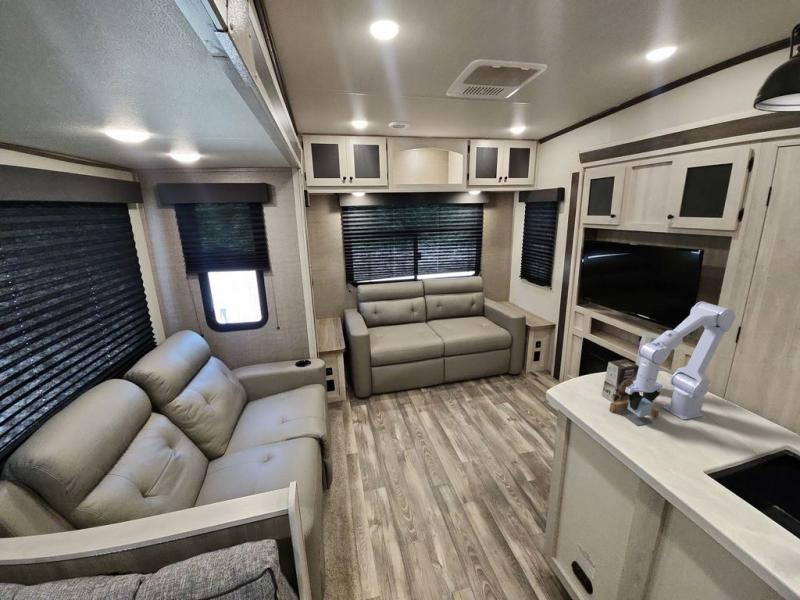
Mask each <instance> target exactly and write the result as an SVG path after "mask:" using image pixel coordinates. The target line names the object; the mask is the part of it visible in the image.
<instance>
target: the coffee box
mask: <svg viewBox="0 0 800 600" xmlns="http://www.w3.org/2000/svg"><path fill="white" fill-rule="evenodd" d="M638 368H639V366H638V365H636V363H634V362H632V361H629V360H628V359H626V358H625V359H619V360H612V361H608V363H607V367H606V371H605V372H606V373H605V377H604V382H603V386H602V390H601V396H602V397H603V398H605V399H607V400H608V401H609V402H611V403H613V402H619V401H625V400H629V397H628V394H627V393H626V392H625V390H626V387H629V386H630V385H632V384H634V383H633V381H635V380H636V377H637V372H638Z"/></svg>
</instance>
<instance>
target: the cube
mask: <svg viewBox="0 0 800 600" xmlns="http://www.w3.org/2000/svg"><path fill="white" fill-rule="evenodd" d="M653 405H654V402H650V401H649V400H647V399H645V398H643V399H642V400H641V401H640V403H639V405H638V408H637V410H634V409H632V408H631V407H630V401H629V404H628V408H627V409H628V410H627V411H629V412H633V413H634V414H636V415H637V416H639V417H642V416H644V417H647V416H648V415H650V414H651V410H652V407H654V406H653Z"/></svg>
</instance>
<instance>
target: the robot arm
mask: <svg viewBox="0 0 800 600" xmlns="http://www.w3.org/2000/svg"><path fill="white" fill-rule="evenodd" d="M736 318H737V316H736V313H735V311H734V310H733V309H732V308H729V307H728V308H727V307H723V306H720V305H715V304H712V303H709V302H706V301H699V302H697V303H695V305H694V306H692V307H691V309H690V312H689V315H688V316H687V317H686V318H685V319H684V320H683V321H682V322H681V323H679V324H678V325H677V326H676V327H675V328H674V329H673V330H671V329H670V330H666V331H664V332H663V333H661V334H659V335H660V336H659V337H658V338H656V339H655V340H654V341H652V342H651V343H645V344H643V345H642V346H641V347H640V349H639V348H638V350H637V355H638V354H639V356H640V357H639V360H640V365H639V369H638V373H637V378H636V380H635V381H633V383H634V384H632V385H630V386H629V387H626V390H625V392H626V393H627V394H628V397H629V401H630V407H631V408H632V409H634V410H637V408H638V405H639V403H640V401H641V400H642V399H643V398H645V399H647V400H649V401H650V402H652V403H654V401H655V399H657V398H658V397H659V396H661V392H660V391H658V390H662V389H663V385H664V384H662V383H660V382H657V380H658V376H659V372H660V368H661V365H662V363H665V362H666V360H667V359H668V357H669V355H671V352H672V351H674V349H676V348H677V347H679V345H681V344H683V342H684V341H683V338H684V337H685V336H687V335H689V334H690V333H692V332H694V331H695V330H697V329H699V328H700V327H701V326H703V328H704V330H703V332H702V334H701V336H700V338H699V341H698V342H697V345H696V346H695V348H694V350H693V352H692V354H691V356H690V358H689V360H688V361H687V364H686V366H683V367H678V368H677V369H676V371H675V372H674V373H673V374H671V376H670V379H669V380H670V381H669V382H670V384H671V385H672V387H671V388H672V389H673V392H672V396H671V399H670V402H669V405H664V406H662V408H663V409H665V410H666V411H668V412H669V413H671V414H672V415H675V416H676V417H678V418H679V419H681V420H688V419H689V420H690V419H695V418H699V417H702V416H703V414H701V411H702V409H703V405H704V400H705V399H704V398H705V396H706V395H707V393H708V392H709V385H710V383H711V380H710V379H709V377H708V376H707V373H706V371H707V368H708V366H709V365H710V363H711V361H712V359H713V357H714V354H715V353H716V351H717V348H718V347H719V345H720V343H721V341H722V339H723V337H724V335H725V333H726V332H729V331H730V329H731V328H732V326H733V324H734V321H735V319H736ZM641 393H642V394H641Z"/></svg>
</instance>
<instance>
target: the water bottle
mask: <svg viewBox="0 0 800 600" xmlns="http://www.w3.org/2000/svg"><path fill="white" fill-rule="evenodd" d="M660 335H661V334H658V333H654V332H644V333H643V334H642V336H641V339H640V342H639V347H638V350H639V349H640V347H641V346H642V345H643V344H645V343H651V342H652V341H654V340H655V339H656V338H658V337H659V336H660ZM639 357H640V356H639V354H638V353H637V356H636V359H635V364H636V365H638V366H639V365H640V360H639ZM638 369H639V368H638ZM637 373H638V372H637ZM636 378H637V377H636Z"/></svg>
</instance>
